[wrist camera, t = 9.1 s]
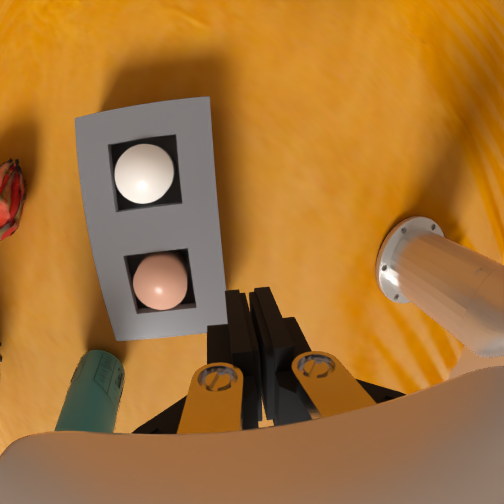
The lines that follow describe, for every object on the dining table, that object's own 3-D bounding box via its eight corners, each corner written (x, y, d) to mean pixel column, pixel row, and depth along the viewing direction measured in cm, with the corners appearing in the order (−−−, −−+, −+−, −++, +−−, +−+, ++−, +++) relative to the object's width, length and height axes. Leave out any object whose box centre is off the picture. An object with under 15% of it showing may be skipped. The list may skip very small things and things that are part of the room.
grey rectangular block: (207, 106, 29) (209, 96, 23) (224, 302, 36) (230, 329, 30) (95, 123, 27) (74, 118, 21) (126, 313, 34) (116, 341, 29)
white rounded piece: (173, 141, 27) (169, 140, 23) (178, 193, 29) (175, 199, 25) (122, 149, 26) (111, 149, 22) (128, 200, 28) (118, 207, 24)
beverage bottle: (74, 346, 34) (25, 465, 16) (115, 336, 35) (76, 467, 16) (98, 382, 37) (68, 500, 18) (137, 373, 37) (119, 502, 18)
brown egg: (184, 243, 30) (182, 256, 26) (190, 288, 32) (190, 306, 28) (136, 249, 29) (128, 262, 26) (144, 293, 31) (139, 312, 27)
